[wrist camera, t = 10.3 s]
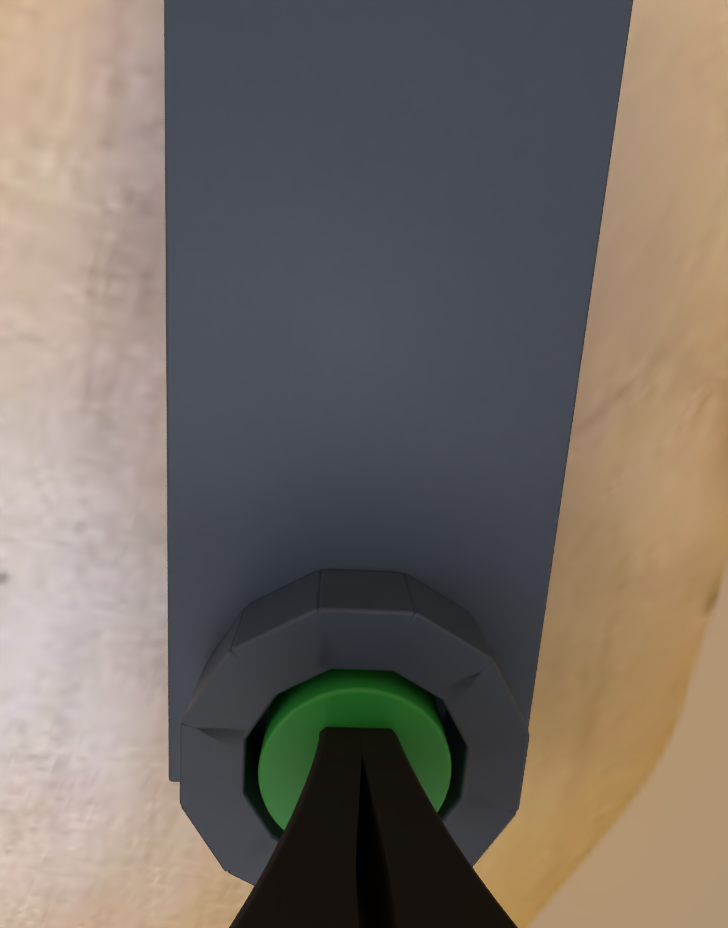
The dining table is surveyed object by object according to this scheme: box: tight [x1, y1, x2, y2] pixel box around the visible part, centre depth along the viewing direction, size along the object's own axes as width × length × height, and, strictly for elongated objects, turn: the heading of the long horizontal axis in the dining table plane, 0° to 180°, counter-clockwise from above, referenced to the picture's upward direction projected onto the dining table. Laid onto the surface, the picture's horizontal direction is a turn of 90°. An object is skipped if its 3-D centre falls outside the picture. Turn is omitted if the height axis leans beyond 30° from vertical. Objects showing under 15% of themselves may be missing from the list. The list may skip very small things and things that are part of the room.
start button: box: [258, 669, 452, 830], centre depth 11 cm, size 4×4×2 cm
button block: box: [164, 0, 633, 886], centre depth 11 cm, size 18×8×4 cm, turn 176°
